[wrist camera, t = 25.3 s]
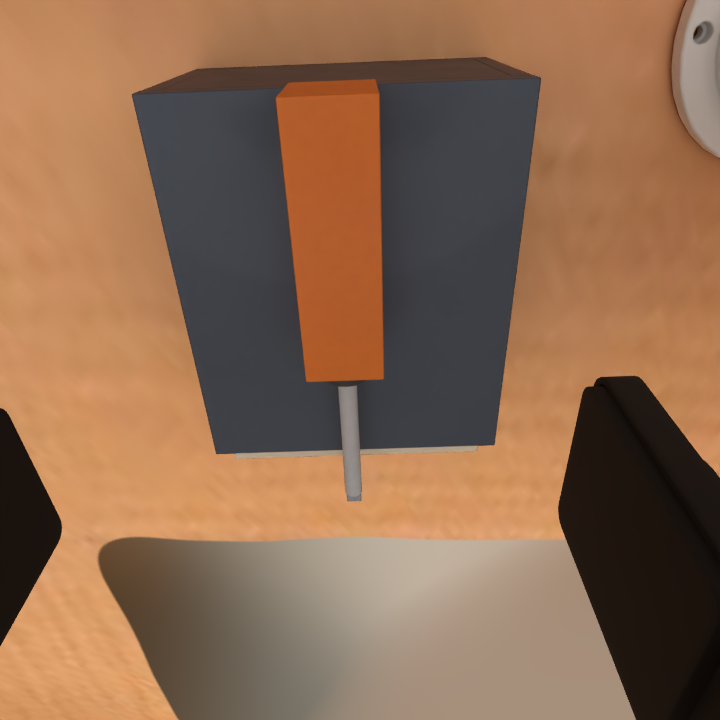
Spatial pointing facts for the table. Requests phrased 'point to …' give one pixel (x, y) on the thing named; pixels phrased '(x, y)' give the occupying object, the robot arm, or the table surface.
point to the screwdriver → (336, 239)
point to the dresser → (399, 248)
